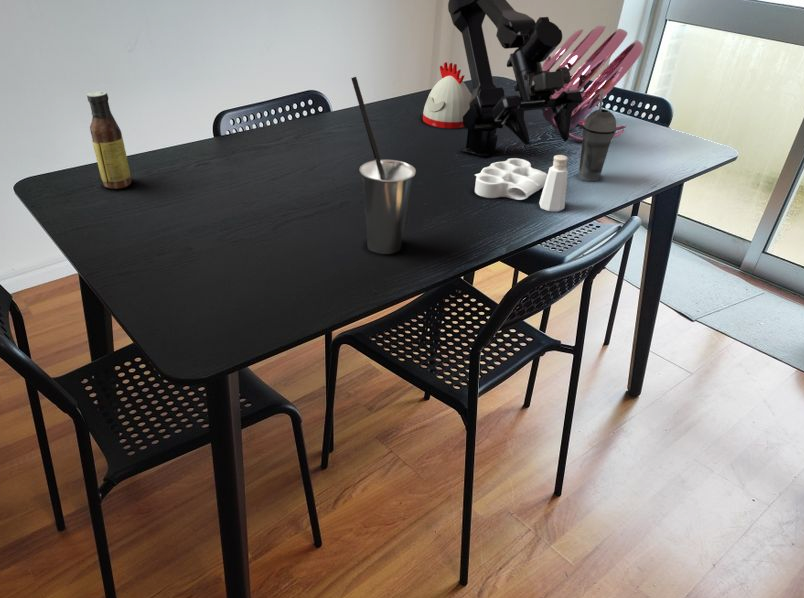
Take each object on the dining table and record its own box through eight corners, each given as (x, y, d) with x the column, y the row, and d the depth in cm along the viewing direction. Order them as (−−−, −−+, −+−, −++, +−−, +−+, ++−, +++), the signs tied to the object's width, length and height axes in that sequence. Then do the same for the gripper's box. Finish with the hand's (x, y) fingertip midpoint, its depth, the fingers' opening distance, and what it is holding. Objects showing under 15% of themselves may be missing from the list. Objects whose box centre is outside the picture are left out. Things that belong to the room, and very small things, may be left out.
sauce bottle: (137, 181, 159) (121, 90, 147) (121, 192, 154) (103, 99, 142) (112, 177, 161) (94, 87, 149) (95, 188, 156) (76, 95, 144)
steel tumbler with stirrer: (349, 233, 140) (351, 75, 122) (405, 232, 141) (415, 75, 123) (353, 260, 131) (356, 94, 114) (414, 258, 132) (426, 93, 114)
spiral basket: (691, 58, 178) (611, -17, 176) (657, 113, 163) (570, 32, 161) (612, 128, 202) (542, 63, 200) (577, 181, 187) (500, 112, 185)
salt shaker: (566, 204, 153) (577, 154, 146) (561, 214, 149) (571, 163, 142) (541, 199, 154) (550, 150, 148) (535, 209, 150) (544, 158, 144)
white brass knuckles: (517, 208, 151) (459, 189, 158) (556, 183, 162) (499, 167, 169) (520, 193, 149) (460, 175, 156) (558, 169, 160) (501, 153, 167)
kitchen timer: (445, 109, 205) (450, 54, 196) (483, 121, 197) (490, 64, 188) (412, 119, 197) (416, 62, 188) (449, 131, 189) (455, 73, 180)
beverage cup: (606, 185, 161) (627, 95, 150) (573, 182, 163) (591, 92, 151) (603, 173, 167) (623, 85, 156) (571, 170, 168) (589, 83, 157)
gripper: (506, 55, 141) (526, 128, 139) (587, 49, 146) (607, 120, 144) (483, 85, 151) (501, 154, 149) (559, 79, 156) (578, 145, 154)
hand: (547, 143), depth 149 cm, fingers open, 9 cm apart
